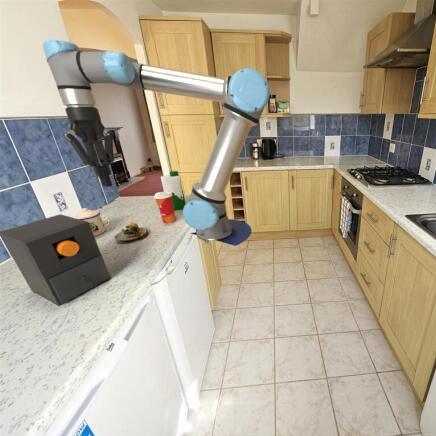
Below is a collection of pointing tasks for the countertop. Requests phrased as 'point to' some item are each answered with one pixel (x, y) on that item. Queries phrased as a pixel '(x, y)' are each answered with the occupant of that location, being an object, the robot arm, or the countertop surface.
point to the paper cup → (165, 206)
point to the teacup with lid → (93, 220)
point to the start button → (67, 248)
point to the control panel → (49, 243)
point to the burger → (131, 232)
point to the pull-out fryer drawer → (79, 278)
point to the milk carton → (174, 189)
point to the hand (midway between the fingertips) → (107, 185)
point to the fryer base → (43, 284)
